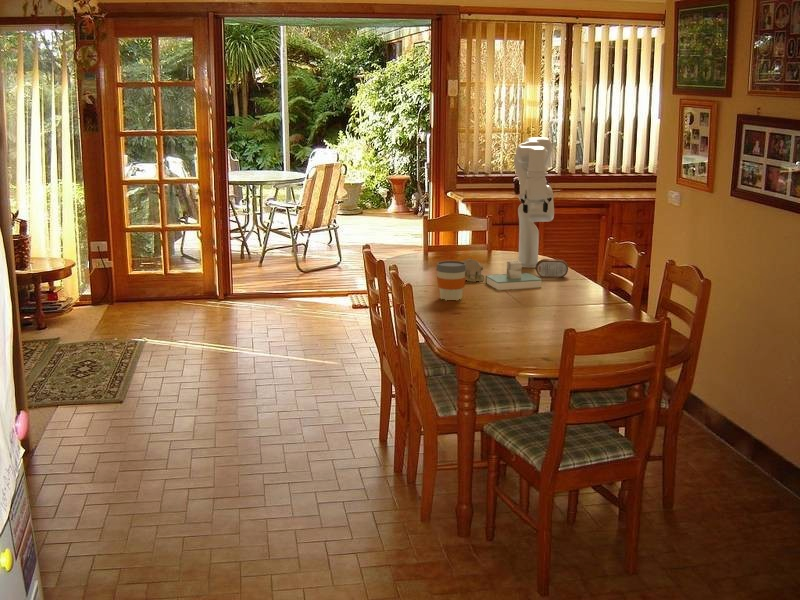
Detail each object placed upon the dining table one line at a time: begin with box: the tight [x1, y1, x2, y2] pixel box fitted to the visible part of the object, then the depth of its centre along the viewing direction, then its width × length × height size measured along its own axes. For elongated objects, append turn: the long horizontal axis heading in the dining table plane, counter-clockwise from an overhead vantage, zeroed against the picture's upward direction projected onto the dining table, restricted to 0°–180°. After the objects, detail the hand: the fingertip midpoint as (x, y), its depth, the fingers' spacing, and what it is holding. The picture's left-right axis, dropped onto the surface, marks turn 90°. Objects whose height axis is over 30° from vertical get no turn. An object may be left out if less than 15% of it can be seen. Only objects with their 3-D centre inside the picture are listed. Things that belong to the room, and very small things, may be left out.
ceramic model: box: [461, 257, 485, 283], centre depth 431 cm, size 14×11×10 cm
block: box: [506, 260, 523, 279], centre depth 418 cm, size 5×5×7 cm
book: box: [485, 272, 543, 291], centre depth 419 cm, size 15×21×4 cm
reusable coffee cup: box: [436, 260, 466, 301], centre depth 393 cm, size 13×12×15 cm
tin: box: [535, 258, 569, 278], centre depth 436 cm, size 15×3×8 cm, turn 84°
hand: (535, 212), depth 430 cm, fingers open, 9 cm apart
